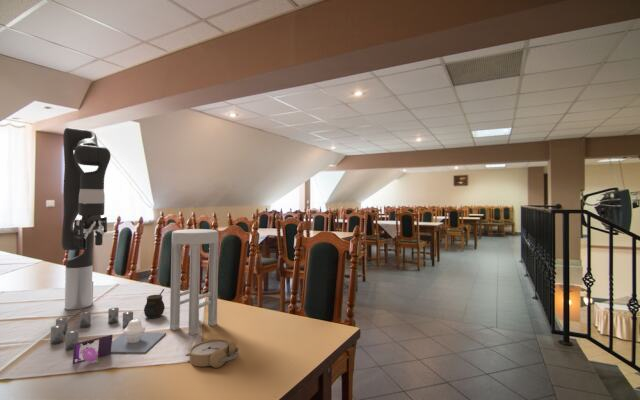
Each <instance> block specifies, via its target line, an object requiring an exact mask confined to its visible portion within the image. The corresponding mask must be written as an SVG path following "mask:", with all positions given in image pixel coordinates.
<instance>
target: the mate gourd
mask: <svg viewBox="0 0 640 400" xmlns="http://www.w3.org/2000/svg"><path fill="white" fill-rule="evenodd" d="M164 291H165V288H163V289H162V290H161V292H160V293H158V294H151V295H147V296H146V303H145V305H144V307H143V308H144V309H143V313H144V316H145V317H146V318H147V319H158V318H160V317H161V316H163V314H164V312H165V307H166V306H165V303H164V301H163V295H162V294H163V293H164Z"/></svg>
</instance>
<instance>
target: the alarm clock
mask: <svg viewBox="0 0 640 400" xmlns="http://www.w3.org/2000/svg"><path fill="white" fill-rule="evenodd" d="M239 349H240V348H239V347H238V346H237V344H236V342H235V341H233V340H232V341H228V340H227V339H221V338H217V339H209V340H204V341H200V342H198V343H196V344H193V346H191V347H190V348H189V351H188V353H186V354H185V357H189V363H190V365H192V366H194V367H212V368H215V369H218V368H220V367H222V366H224V364H225V363H226V362H228V361H232V360H234V359H236V358H237V357H238V356H239V354H240V352H239Z"/></svg>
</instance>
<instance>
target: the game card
mask: <svg viewBox="0 0 640 400" xmlns="http://www.w3.org/2000/svg"><path fill="white" fill-rule="evenodd" d="M95 341H98V348H97V351H96V348H94V347H86V348H83V349H82V350H80V349H81V346H87V345H88V344H89V345H91V344H94V343H95ZM112 341H113V334H108V335H105V336H99V337H95V338H91V339H88V340H83V341H78V343H75V344H74V349H73V355H72V364H73V365H75V364H78V363H82V362H88V363H89V362H90V363H91V362H96V363H97V364H100V360H99V359H98V358H100V357H101V358H102V357H103V356H108V355H111V354H112V353H111V346H112ZM80 354H82V360H81V358H80ZM76 360H77V361H76Z"/></svg>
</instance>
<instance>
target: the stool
mask: <svg viewBox="0 0 640 400" xmlns="http://www.w3.org/2000/svg"><path fill="white" fill-rule="evenodd" d="M219 236H220V235H219V231H218V229H209V228H208V229H206V228H192V229H191V228H190V229H189V228H188V229H177V230H173V231H172V232H171V246H170V247H171V250H170V251H171V253H170V255H171V257H170V258H171V259H170V262H171V263H170V299H169V300H170V303H169V304H170V306H169V307H170V309H169V313H170V314H169V330H171V331H175V330H178V329H180V326H181V325H180V324H181V323H180V318H181V317H180V316H181V305H183V304H187V303H188V330H187V332H188V335H192V336H194V335H197V334H199V320H200V309H201V308H203V307H204V308H205V307H206V306H208V307H207V326H212V327H213V326H215V325H217V324H218V288H219V286H218V283H219V280H218V277H219ZM207 244H209V247H208V248H209V251H208V252H209V253H208V256H209V257H208V292H205V293H202V294H200V284H201V283H200V282H201V281H200V278H201V276H200V274H201V273H200V272H201V271H200V270H201V245H207ZM182 245H189V283H188V284H189V286H188V287H189V288H188V289H186V290H183V291H181V272H182V271H181V269H182V267H181V266H182V264H181V263H182ZM186 295H188V297H187V298H184V299H181V297H183V296H186ZM205 298H207V299H208V300H206V301H203V302H201V303H200V300H202V299H205Z"/></svg>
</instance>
